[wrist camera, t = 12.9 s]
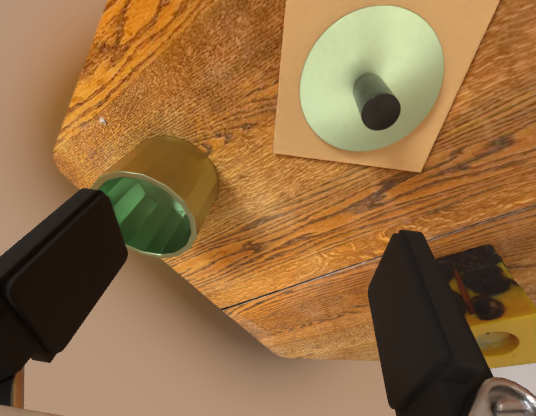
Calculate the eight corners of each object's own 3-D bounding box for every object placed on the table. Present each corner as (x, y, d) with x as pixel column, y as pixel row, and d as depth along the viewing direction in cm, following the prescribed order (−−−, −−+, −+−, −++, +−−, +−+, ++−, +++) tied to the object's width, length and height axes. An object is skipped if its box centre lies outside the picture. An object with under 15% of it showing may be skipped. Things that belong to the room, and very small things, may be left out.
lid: (292, 139, 30) (286, 175, 24) (311, -3, 23) (308, -2, 16) (408, 153, 29) (432, 195, 23) (466, 12, 22) (524, 18, 16)
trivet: (273, 151, 32) (272, 153, 31) (289, -37, 22) (289, -38, 21) (418, 169, 30) (420, 172, 30) (505, -20, 21) (509, -20, 20)
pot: (142, 206, 40) (106, 249, 33) (123, 130, 33) (73, 164, 26) (220, 218, 39) (200, 264, 32) (217, 142, 32) (190, 181, 25)
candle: (428, 306, 43) (452, 375, 36) (406, 265, 39) (428, 333, 31) (506, 289, 39) (554, 363, 31) (491, 241, 35) (542, 313, 27)
